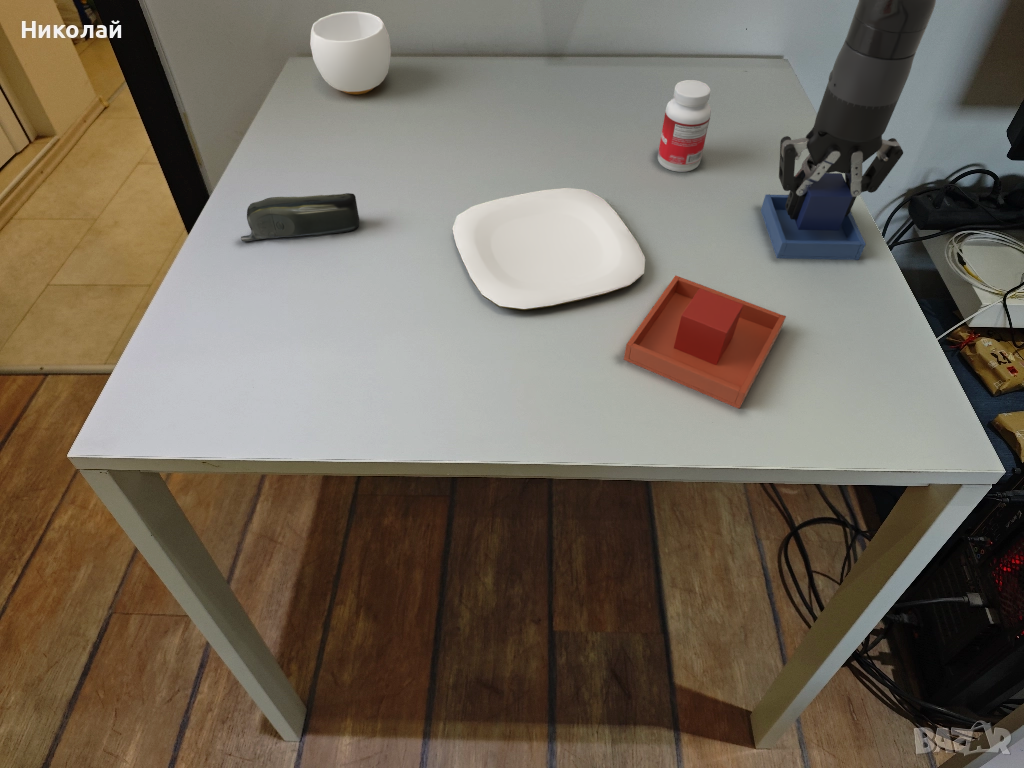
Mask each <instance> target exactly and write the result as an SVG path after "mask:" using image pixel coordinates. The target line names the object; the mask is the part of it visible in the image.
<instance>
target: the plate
mask: <svg viewBox="0 0 1024 768" xmlns="http://www.w3.org/2000/svg"><path fill="white" fill-rule="evenodd" d="M452 233H453V238H454V242H455V246H456V248H457V251H458V253H459V255H460V258H461V260H462V262H463V265H464V267H465V270H466V271H467V273H468V275H469V278H470V280H471V281H472V283H473V284H474V285H475V287H476V288H477V290H478V291H479V293H480V295H481V296H482V297H484V298H485V299H486V300H488V301H490V302H491V303H493V304H495V305H496V306H497V307H499V308H503V309H512V310H520V311H527V310H534V309H535V310H536V309H542V308H549V307H550V308H551V307H555V306H560V305H565V304H569V303H573V302H578V301H582V300H587V299H590V298H594V297H599V296H602V295H607V294H609V293H612V292H615V291H619V290H621V289H624V288H628V287H630V286H631V285H633V284H634V283H635V282H636V281H637V280H639V279H640V278H641V277H642V276H644V275H645V267H646V257H645V255H644V253H643V251H642V249H641V247H640V244H639V242H638V241H637V239H636V238H635V236H634V234H632V232H631V231H630V229H629V228H628V226H627V225H626V223H625V222H624V221H623V220H622V218H621V217H620V215H619V214H618V213H617V212H616V210H615V209H614V208H613V207H612V206H611V205H610V204H609V203H608V202H607V201H606V199H604V198H603V197H601V196H599V195H597V194H595V193H594V192H592V191H590V190H588V189H581V188H573V187H561V188H552V189H551V188H550V189H542V190H536V191H531V192H525V193H520V194H514V195H511V196H505V197H500V198H496V199H493V200H489V201H486V202H482V203H479V204H475V205H472V206H470V207H468V208H467V209H466V210H464V211H462V212H461V213H459V214H457V215H456V217H455V220H454V223H453V226H452Z"/></svg>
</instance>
